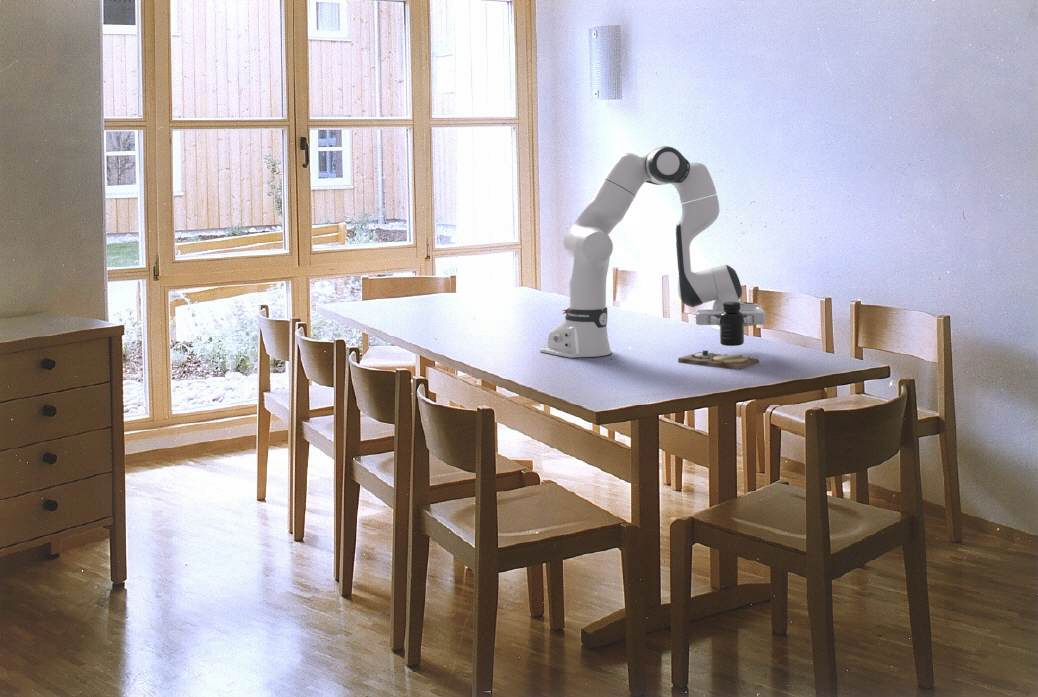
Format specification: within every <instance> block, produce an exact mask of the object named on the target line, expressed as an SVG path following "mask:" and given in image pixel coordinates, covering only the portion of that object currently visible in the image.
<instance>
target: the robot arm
mask: <svg viewBox="0 0 1038 697" xmlns="http://www.w3.org/2000/svg"><path fill="white" fill-rule="evenodd" d="M644 183H647V184H651V185H657V186H662V185H668V184H671V185H672V186H673V187H675V189H676V191H677V193H678V196H679V201H680V204H681V212H682V213H681V217H680V220H679V221H678V222H677V223H676V227H675V239H676V242H675V244H676V247H675V248H676V259H677V271H678V281H677V291H678V292H677V294H678V297H679V299H680V300H681V303H682V304H684V305H686V306H687V307H691V308H695V307H699V306H701V305H703V304H705V303H710V302H713V304H712V309H699V310H697V311H696V312H695V313H694V314H693V317H694V318H695V324H696V325H698V326H718V327H720V315H721V313H722V312H724V310H723V303H726V302H738V303H740V310H739V311H740V312H742V313H743V315H744V327H747V326H748V327H749V326H750V327H753V326H760V325H765V324H766V322H767V320H766V316H767V315H766V314H767V313H766V311H765V309H764V308H762V307H760V306H759V304H758V303H756V302H746V301H742V300H740V299H742V298H741V297H742V296H743V290H742V284H741V282H740V281H741V280H740V279H739V278H740V277H739V276H738V274H737V271H736V270H735V269H734V268H733V267H732V266H730V265H728V264H724V265H719V266H715V267H711V268H709V269H705V270H702V271H701V270H700V271H698V272H693V271H692V265H691V264H692V262H691V252H690V249H691V248H690V246H691V244H692V242H693V240H694V239H695V238H696V237H697V236H699V234H701V233H703V231H705V230H707V229H708V228H709V227H710V226H712V225H713V224H714V223H715V221H716V220H717V219H718V217H719V215H720V214H719V213H720V210H721V209H720V203H719V197H718V195H717V189H716V187H715V184H714V180H713V177H712V175H711V173H710V172H709V170H708V168H707V166H706V165H705V164H703V163H701V162H690V161H689V160H688V159H686V157H685V156H684V155H683V154H682V153H681V152H680V151H679V150H677V149H676V148H675V147H673V146H667V145H666V146H660V147H656V148H655V149H653V150H651V151H650V152H648V153H647V154H645V155H643V156H639V155H637V154H635V153H630V152H624V153H622V154H621V155H619V156H618V157H617V159H616V160H615V161H614V162H613V163H612V165H611V166H610V167H609V169H608V171H607V172H606V174H605V175H604V177H603V179H602V181H601V182H600V184H599V185H598V187H597V189H596V191H595V192H594V195H593V196H592V198H591V200H590V202H589V203H588V204H587V205H586V207H585V208H584V210H583V211H582V212H581V213H580V215H579V216H578V217H577V218H576V220H575V222H574V223H572V225H571V227H570V228H569V229H567V231H566V232H565V233H564V236H563V240H562V241H563V246H564V249H565V251H566V253H567V254H568V255H569V257H571V258H572V259H573V267H572V274H571V277H570V280H569V307H568V308H567V309H563V310H562V314H563V315H565V314H566V315H565V317H564V318H565V319H564V320H562V321H561V322H560V323H559V324H558V325H556V326H555V327H554V328H553V329H551V330H550V331H549V334H548V337H547V345H544V346H542V347H540V349H539V350H540V351H539V352H541V353H545V354H550V355H553V356H554V355H555V356H558V357H559V356H560V357H566V358H592V357H593V358H595V357H603V356H608V355H610V354H612V350H611V346H610V342H609V337H608V327H607V325H608V307H607V277H608V271H609V266H610V259H611V256H612V253H613V250H614V244H613V241H612V238H611V236H609V235H610V233H611V232H613V229H614V228H616V226H617V225H618V224H619V223H621V221H623V219H624V217H625V216H626V214H627V212H628V210H629V209H630V207H631V205H632V203H633V201H634V199H635V198H636V196H637V194H638V192H639V191H640V189H641V187H643V185H645V184H644Z"/></svg>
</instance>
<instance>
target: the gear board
mask: <svg viewBox="0 0 1038 697" xmlns="http://www.w3.org/2000/svg"><path fill="white" fill-rule="evenodd" d="M677 362H678V363H684V364H692V365H700V366H705V367H706V366H707V367H713V368H722V369H730V370H737V371H738V370H741V369H744V368H748V367H752V366H754V365H757V364H759V363H760V359H759V358H752V357H751V356H745V355H742V354H726V353H725V354H721V353H714V352H709V351H708V350H707V349H706V350H705V349H704V350H702V351H699V352H695V353H691V354H688V355H685V356H681V357H678V358H677Z"/></svg>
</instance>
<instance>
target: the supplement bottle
mask: <svg viewBox="0 0 1038 697" xmlns="http://www.w3.org/2000/svg"><path fill="white" fill-rule="evenodd" d="M723 310H724V312H722V313H721V315H720V326H719V336H720V337H719V339H720V340H719V341H720V342H719V343H720V344H721V346H728V347H738V346H742V345H744V343H745V326H744V315H743V313H742V312H740V311H739V310H740V303H738V302H726V303H723Z"/></svg>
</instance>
